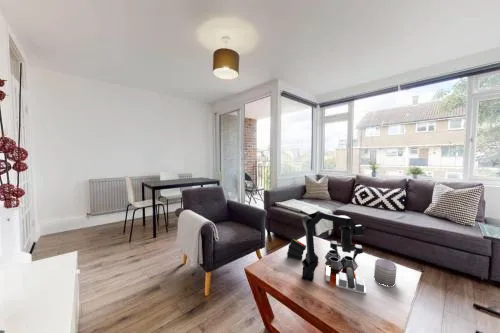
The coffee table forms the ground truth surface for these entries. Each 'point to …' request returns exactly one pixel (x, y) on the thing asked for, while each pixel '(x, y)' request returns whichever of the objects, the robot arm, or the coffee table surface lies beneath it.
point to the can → (385, 272)
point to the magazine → (296, 250)
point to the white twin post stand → (343, 282)
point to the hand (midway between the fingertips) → (345, 259)
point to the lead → (350, 278)
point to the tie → (327, 273)
